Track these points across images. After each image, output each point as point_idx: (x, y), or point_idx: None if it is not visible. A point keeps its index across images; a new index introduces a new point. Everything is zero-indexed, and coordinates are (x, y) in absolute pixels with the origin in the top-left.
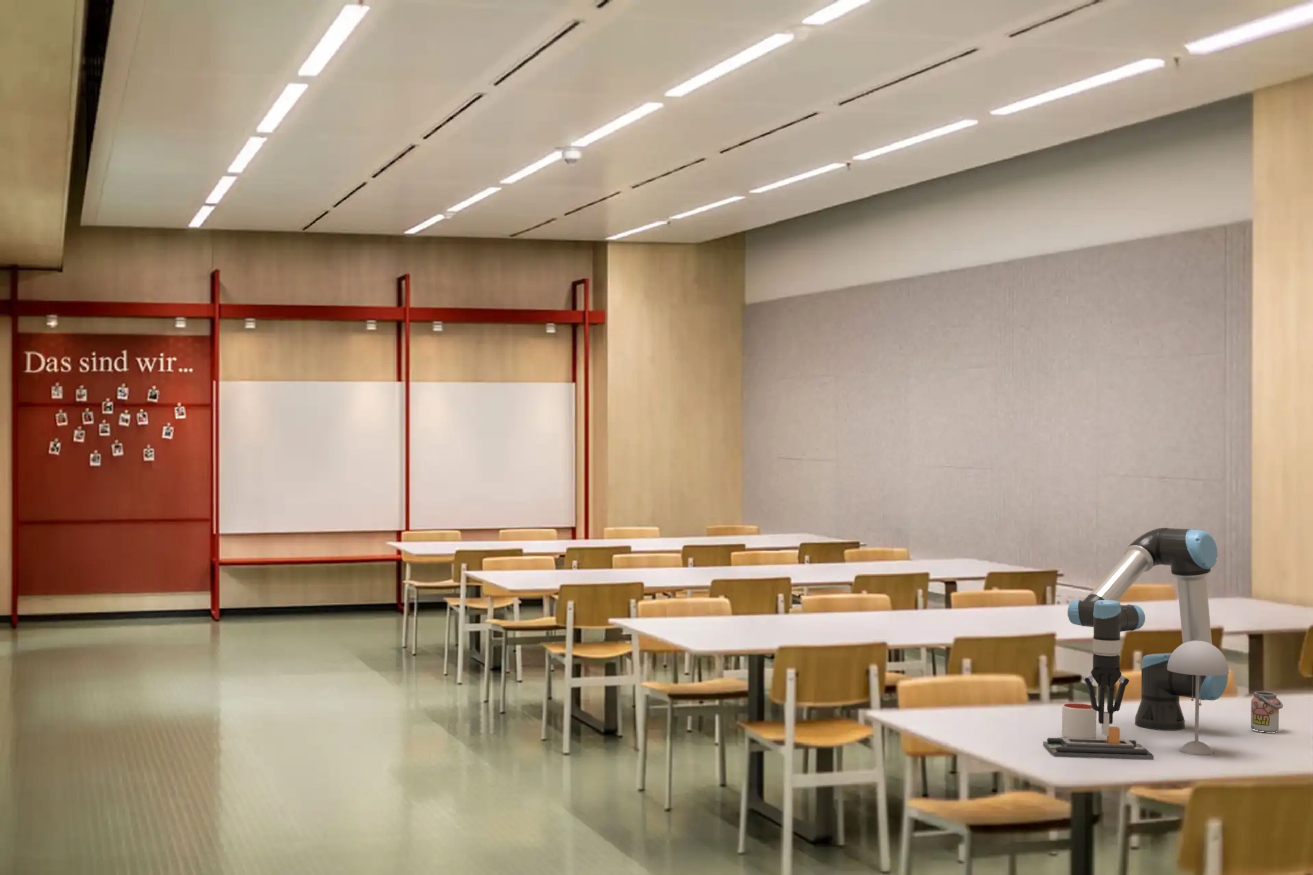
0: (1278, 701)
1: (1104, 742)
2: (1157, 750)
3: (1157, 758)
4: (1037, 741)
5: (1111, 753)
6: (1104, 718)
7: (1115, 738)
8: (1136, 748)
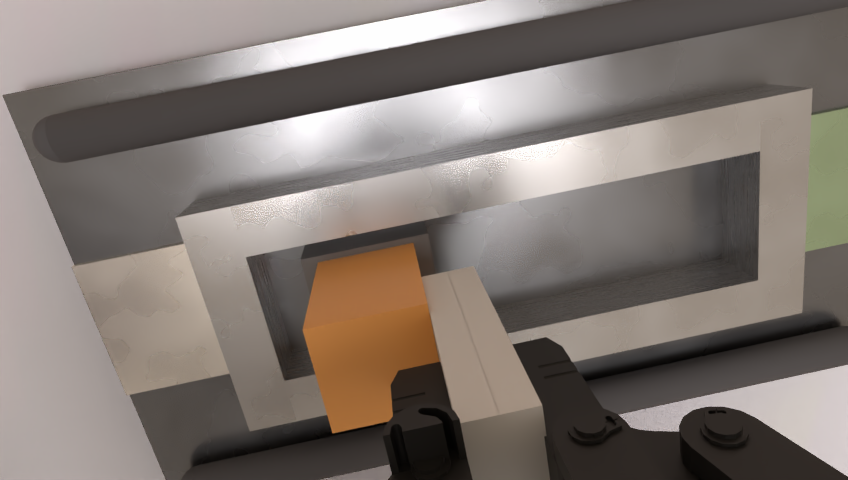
0: None
1: None
2: (53, 473)
3: (3, 173)
4: (844, 459)
5: None
6: (513, 360)
7: (355, 274)
8: (183, 330)
